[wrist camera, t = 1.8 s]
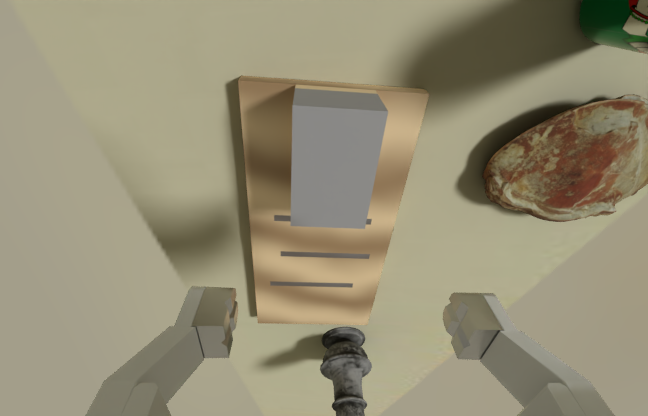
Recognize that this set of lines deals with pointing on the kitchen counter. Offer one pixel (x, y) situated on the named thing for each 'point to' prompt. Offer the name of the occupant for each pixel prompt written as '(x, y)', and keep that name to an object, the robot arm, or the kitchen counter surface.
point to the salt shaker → (346, 369)
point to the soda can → (616, 23)
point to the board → (318, 242)
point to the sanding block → (334, 155)
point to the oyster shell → (574, 162)
